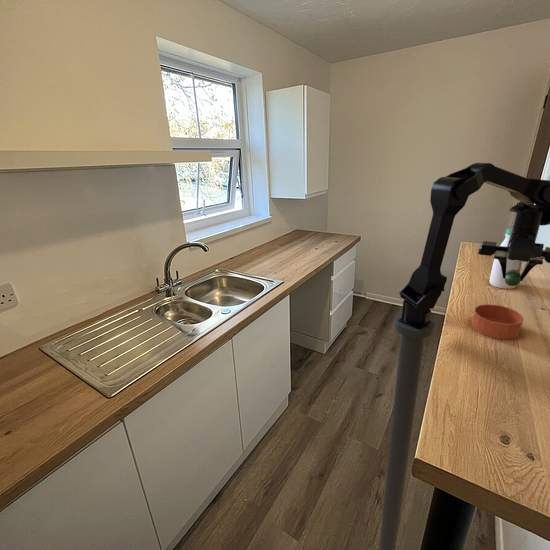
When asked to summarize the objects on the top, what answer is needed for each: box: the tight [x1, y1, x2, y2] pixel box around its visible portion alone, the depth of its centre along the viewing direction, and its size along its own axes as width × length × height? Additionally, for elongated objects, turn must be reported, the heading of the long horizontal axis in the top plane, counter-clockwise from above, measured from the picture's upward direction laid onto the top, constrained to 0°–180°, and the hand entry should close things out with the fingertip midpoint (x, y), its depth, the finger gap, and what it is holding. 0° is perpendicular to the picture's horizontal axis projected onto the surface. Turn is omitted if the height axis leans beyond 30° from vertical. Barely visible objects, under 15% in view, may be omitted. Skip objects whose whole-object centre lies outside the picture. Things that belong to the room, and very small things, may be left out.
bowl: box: [471, 303, 524, 340], centre depth 82 cm, size 11×11×4 cm
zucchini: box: [505, 270, 522, 286], centre depth 88 cm, size 8×4×4 cm, turn 142°
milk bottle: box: [489, 227, 523, 290], centre depth 102 cm, size 8×8×20 cm
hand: (512, 279), depth 88 cm, fingers closed on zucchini, 3 cm apart
